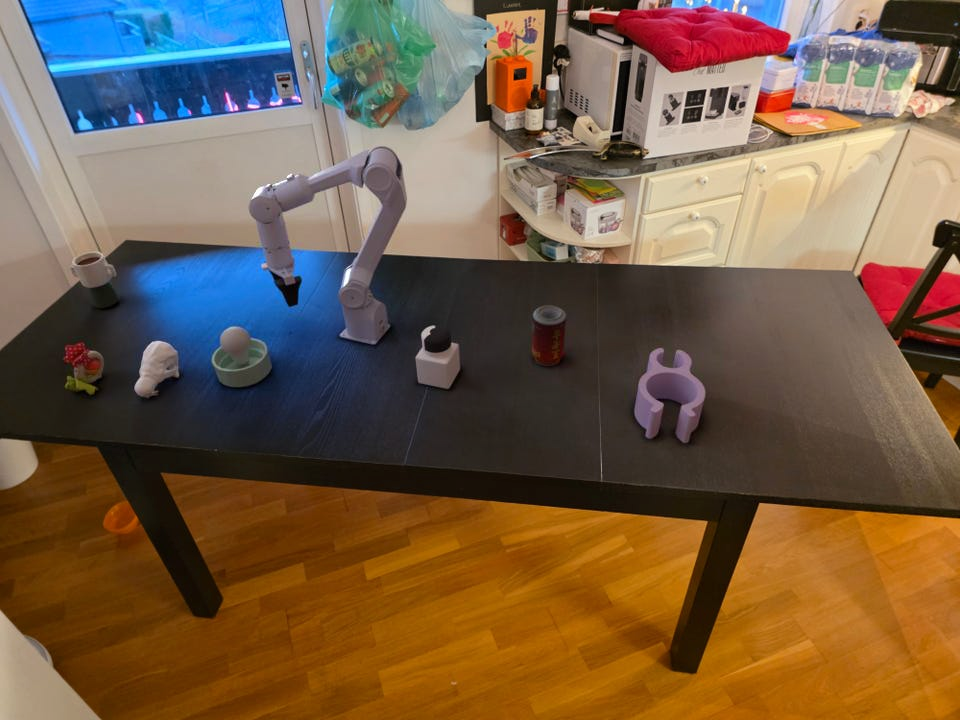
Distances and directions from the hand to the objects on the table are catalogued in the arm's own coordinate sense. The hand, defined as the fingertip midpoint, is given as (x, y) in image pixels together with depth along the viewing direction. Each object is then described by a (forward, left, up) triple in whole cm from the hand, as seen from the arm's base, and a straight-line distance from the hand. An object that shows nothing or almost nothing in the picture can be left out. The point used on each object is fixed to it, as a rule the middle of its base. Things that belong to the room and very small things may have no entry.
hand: (288, 297), depth 149 cm
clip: (-85, -4, -11) cm, 86 cm away
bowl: (+3, +16, -10) cm, 19 cm away
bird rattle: (+32, +31, -11) cm, 46 cm away
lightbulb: (+3, +16, -10) cm, 19 cm away
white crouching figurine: (+18, +26, -11) cm, 33 cm away
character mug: (+54, +5, -11) cm, 55 cm away
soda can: (-58, -11, -11) cm, 60 cm away
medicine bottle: (-38, +3, -11) cm, 40 cm away
